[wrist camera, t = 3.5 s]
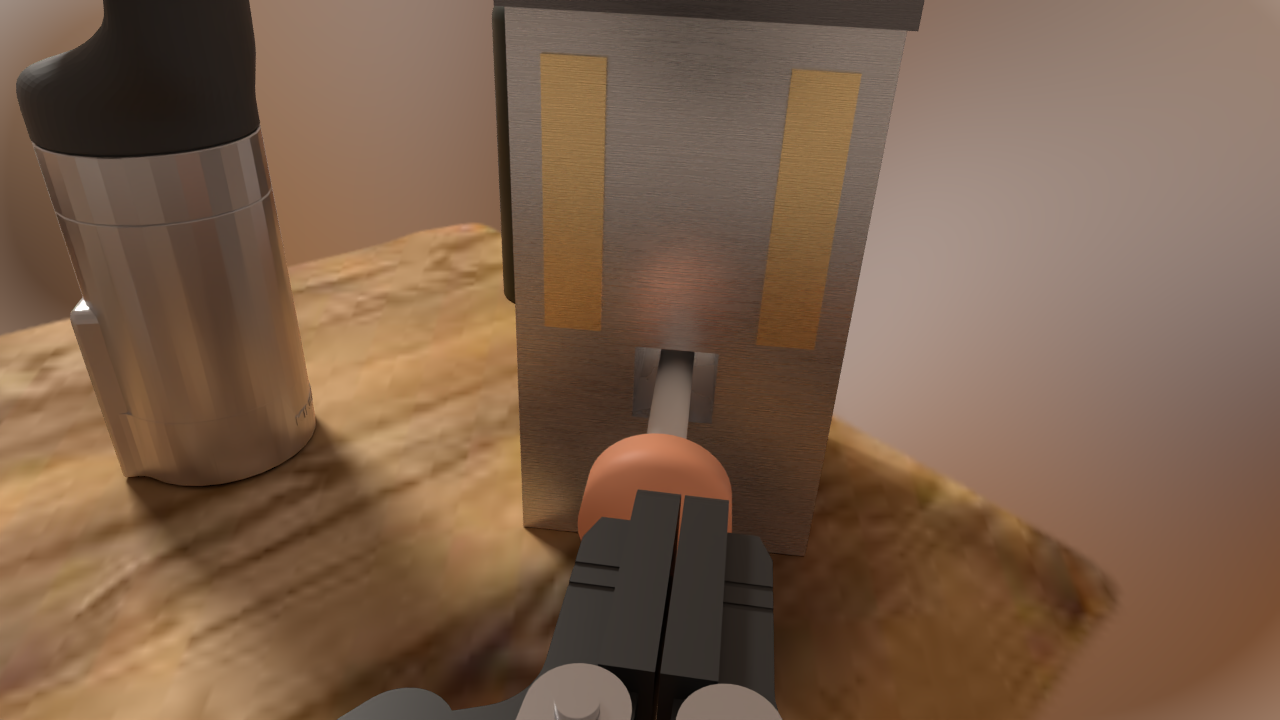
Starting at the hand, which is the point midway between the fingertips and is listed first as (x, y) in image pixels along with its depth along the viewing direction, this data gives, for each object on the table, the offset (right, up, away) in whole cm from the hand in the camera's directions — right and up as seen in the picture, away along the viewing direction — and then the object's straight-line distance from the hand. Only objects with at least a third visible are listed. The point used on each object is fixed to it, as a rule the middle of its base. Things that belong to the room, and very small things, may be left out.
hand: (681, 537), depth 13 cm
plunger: (0, -2, +21) cm, 21 cm away
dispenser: (+1, -3, +32) cm, 32 cm away
